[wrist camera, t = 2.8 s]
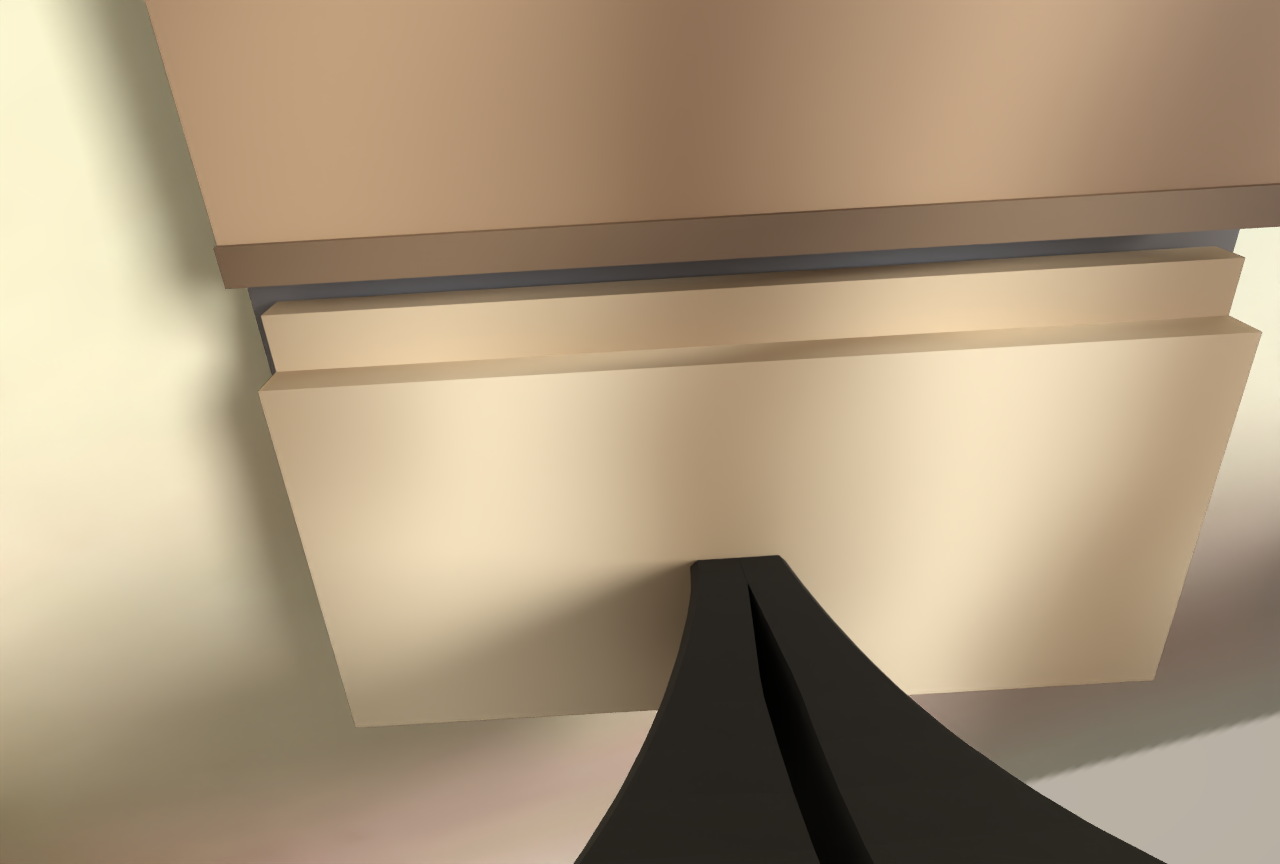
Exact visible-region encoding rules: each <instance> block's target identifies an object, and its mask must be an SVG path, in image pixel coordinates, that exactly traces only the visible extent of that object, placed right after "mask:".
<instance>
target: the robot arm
mask: <svg viewBox="0 0 1280 864" xmlns="http://www.w3.org/2000/svg"><path fill="white" fill-rule="evenodd" d="M690 581H691V593H690V601H689V607H688V613H687V619H686V623H685V627H684V631H683V635H682V639H681V643H680V647H679V651H678V655H677V658H676V661H675V664H674V667H673V670H672V673H671V676H670V679H669V682H668V685H667V688H666V691H665V694H664V696H663V699H662V702H661V704H660V707H659V709H658V712H657V714H656V717H655V719H654V721H653V724H652V726H651V728H650V731H649V733H648V735H647V737H646V740H645V742H644V744H643V746H642V748H641V750H640V752H639V754H638V756H637V758H636V760H635V762H634V764H633V766H632V768H631V770H630V772H629V774H628V776H627V778H626V780H625V782H624V783H623V785H622V787H621V789H620V791H619V792H618V794H617V796H616V798H615V799H614V801H613V803H612V805H611V806H610V808H609V809H608V811H607V813H606V814H605V816H604V817H603V819H602V820H601V822H600V824H599V825H598V827H597V828H596V830H595V832H594V833H593V835H592V836H591V838H590V840H589V841H588V843H587V844H586V846H585V848H584V849H583V851H582V852H581V854H580V855H579V857H578V858H577V859H576V861H575V862H574V864H1167V863H1165V862H1163V861H1161V860H1159V859H1157V858H1155V857H1153V856H1151V855H1149V854H1147V853H1145V852H1144V851H1142V850H1139V849H1138V848H1136V847H1134V846H1132V845H1130V844H1128V843H1126V842H1124V841H1122V840H1121V839H1118V838H1117V837H1115V836H1113V835H1111V834H1109V833H1107V832H1105V831H1103V830H1101V829H1099V828H1098V827H1096V826H1094V825H1092V824H1090V823H1089V822H1087V821H1085V820H1083V819H1082V818H1080V817H1078V816H1077V815H1075V814H1073V813H1072V812H1070V811H1068V810H1067V809H1065V808H1063V807H1061V806H1060V805H1058V804H1057V803H1055V802H1053V801H1052V800H1050V799H1048V798H1047V797H1045V796H1043V795H1041V794H1040V793H1039V792H1037V791H1035V790H1034V789H1032V788H1031V787H1029V786H1028V785H1026V784H1025V783H1023V782H1021V781H1020V780H1018V779H1017V778H1015V777H1014V776H1012V775H1011V774H1010V773H1008V772H1007V771H1005V770H1004V769H1002V768H1001V767H999V766H998V765H997V764H995V763H994V762H992V761H991V760H989V759H988V758H987V757H985V756H984V755H982V754H981V753H979V752H978V751H976V750H975V749H974V748H972V747H971V746H969V745H968V744H966V743H965V742H964V741H962V740H961V739H960V738H959V737H957V736H956V735H955V734H953V733H952V732H951V731H949V730H948V729H947V728H946V727H944V726H943V725H942V724H941V723H940V722H938V721H937V720H936V719H935V718H934V717H932V716H931V715H930V714H929V713H928V712H926V711H925V710H924V709H923V708H922V707H920V706H919V705H918V704H917V703H916V702H915V701H914V700H912V699H911V698H910V697H909V696H908V695H907V694H906V693H905V692H903V691H902V690H901V689H900V688H899V687H898V686H897V685H896V684H895V683H894V682H893V681H892V680H891V679H890V678H889V677H887V676H886V675H885V674H884V673H883V672H882V671H881V670H880V669H879V668H878V667H877V666H876V665H875V664H874V663H873V662H872V661H871V660H870V659H869V658H868V657H867V656H866V655H865V654H864V653H863V652H862V651H861V650H860V649H859V648H858V647H857V646H856V644H855V643H854V642H853V641H852V640H851V639H850V638H849V637H848V636H847V635H846V633H845V632H844V631H843V630H842V629H841V628H840V627H839V626H838V625H837V624H836V623H835V621H834V620H833V619H832V618H831V617H830V616H829V615H828V613H827V612H826V611H825V610H824V609H823V608H822V606H821V605H820V604H819V603H818V602H817V600H816V599H815V598H814V597H813V596H812V594H811V593H810V592H809V591H808V589H807V588H806V587H805V586H804V584H803V583H802V582H801V581H800V579H799V578H798V577H797V575H796V574H795V573H794V571H793V570H792V569H791V567H790V566H789V565H788V563H787V562H786V561H785V560H784V559H783V558H782V557H781V556H780V555H769V556H755V557H740V558H724V559H708V560H697V561H696V562H695V563H694V564H693V565H691V566H690Z"/></svg>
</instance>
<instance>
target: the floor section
mask: <svg viewBox="0 0 1280 864" xmlns="http://www.w3.org/2000/svg"><path fill="white" fill-rule="evenodd" d="M145 3H146V6H147V10H148V13H149V17H150V20H151V23H152V27H153V30H154V34H155V37H156V40H157V44H158V47H159V50H160V54H161V57H162V61H163V64H164V67H165V71H166V74H167V78H168V81H169V84H170V88H171V91H172V95H173V98H174V101H175V105H176V108H177V112H178V115H179V118H180V122H181V125H182V128H183V132H184V135H185V139H186V142H187V145H188V149H189V152H190V156H191V159H192V162H193V166H194V169H195V173H196V176H197V179H198V183H199V186H200V190H201V193H202V196H203V200H204V203H205V207H206V210H207V213H208V217H209V220H210V223H211V227H212V230H213V234H214V237H215V240H216V244H217V246H216V247H214V252H215V255H216V258H217V262H218V265H219V268H220V272H221V275H222V278H223V282H224V285H225V289H230V288H248V292H249V295H250V299H251V302H252V306H253V309H254V313H255V316H256V320H257V323H258V327H259V330H260V334H261V337H262V341H263V344H264V348H265V351H266V355H267V358H268V362H269V366H270V369H271V373H272V376H273V375H274V374H275V373H276V369H275V365H274V362H273V358H272V354H271V351H270V347H269V344H268V340H267V336H266V333H265V329H264V326H263V322H262V318H261V315H262V314H264V313H265V312H266V311H267V310H268V309H269V308H271V307H272V306H273V305H274V304H275V303H276V302H279V301H296V300H313V299H329V298H346V297H363V296H380V295H397V294H414V293H431V292H448V291H465V290H482V289H499V288H516V287H532V286H549V285H566V284H583V283H600V282H617V281H634V280H651V279H668V278H685V277H702V276H719V275H735V274H752V273H769V272H786V271H803V270H820V269H837V268H854V267H871V266H888V265H905V264H922V263H938V262H955V261H972V260H989V259H1006V258H1023V257H1040V256H1057V255H1074V254H1091V253H1108V252H1125V251H1142V250H1158V249H1175V248H1192V247H1209V246H1217V247H1219V248H1222V249H1224V250H1227V251H1229V252H1232V253H1233V251H1234V247H1235V244H1236V240H1237V237H1238V233H1239V230H1240V229H1246V228H1263V227H1279V226H1280V0H145Z"/></svg>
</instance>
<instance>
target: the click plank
mask: <svg viewBox="0 0 1280 864" xmlns="http://www.w3.org/2000/svg"><path fill="white" fill-rule="evenodd" d="M1244 260H1245V257H1242V256H1240V255H1237V254H1235V253H1232V252H1229V251H1227V250H1224V249H1222V248H1219V247H1217V246H1209V247H1192V248H1175V249H1158V250H1142V251H1125V252H1108V253H1091V254H1074V255H1057V256H1040V257H1023V258H1006V259H989V260H972V261H955V262H938V263H922V264H905V265H888V266H871V267H854V268H837V269H820V270H803V271H786V272H769V273H752V274H735V275H719V276H702V277H685V278H668V279H651V280H634V281H617V282H600V283H583V284H566V285H549V286H532V287H516V288H499V289H482V290H465V291H448V292H431V293H414V294H397V295H380V296H363V297H346V298H329V299H313V300H296V301H279V302H276V303H275V304H274V305H273V306H272V307H271V308H269V309H268V310H267V311H266V312H265V313H264V314H262V315H261V318H262V322H263V326H264V329H265V333H266V336H267V340H268V344H269V347H270V351H271V354H272V358H273V362H274V365H275V369H276V373H275V374H274V375H273V376H272V377H271V378H270V379H269V380H268V381H267V382H266V383H265V384H264V385H263V386H262V387H261V388H260V390H259V391H258V394H259V397H260V401H261V404H262V408H263V411H264V415H265V418H266V421H267V425H268V428H269V432H270V435H271V439H272V442H273V446H274V449H275V452H276V456H277V459H278V463H279V466H280V470H281V473H282V476H283V480H284V483H285V487H286V490H287V494H288V497H289V500H290V504H291V507H292V511H293V514H294V518H295V521H296V525H297V528H298V531H299V535H300V538H301V542H302V545H303V549H304V552H305V555H306V559H307V562H308V566H309V569H310V573H311V576H312V580H313V583H314V586H315V590H316V593H317V597H318V600H319V604H320V607H321V610H322V614H323V617H324V621H325V624H326V628H327V631H328V634H329V638H330V641H331V645H332V648H333V652H334V655H335V659H336V662H337V665H338V669H339V672H340V676H341V679H342V683H343V686H344V689H345V693H346V696H347V700H348V703H349V707H350V710H351V714H352V717H353V720H354V724H355V727H356V728H360V727H377V726H394V725H411V724H427V723H444V722H461V721H478V720H495V719H511V718H528V717H545V716H562V715H579V714H596V713H612V712H629V711H646V710H658V709H659V707H660V704H661V702H662V699H663V696H664V694H665V691H666V688H667V685H668V682H669V679H670V676H671V673H672V670H673V667H674V664H675V661H676V658H677V655H678V651H679V647H680V643H681V639H682V635H683V631H684V627H685V623H686V619H687V613H688V607H689V601H690V593H691V581H690V566H691V565H693V564H694V563H695V562H696V561H697V560H708V559H724V558H740V557H755V556H769V555H780V556H781V557H782V558H783V559H784V560H785V561H786V562H787V563H788V565H789V566H790V567H791V569H792V570H793V571H794V573H795V574H796V575H797V577H798V578H799V579H800V581H801V582H802V583H803V584H804V586H805V587H806V588H807V589H808V591H809V592H810V593H811V594H812V596H813V597H814V598H815V599H816V600H817V602H818V603H819V604H820V605H821V606H822V608H823V609H824V610H825V611H826V612H827V613H828V615H829V616H830V617H831V618H832V619H833V620H834V621H835V623H836V624H837V625H838V626H839V627H840V628H841V629H842V630H843V631H844V632H845V633H846V635H847V636H848V637H849V638H850V639H851V640H852V641H853V642H854V643H855V644H856V646H857V647H858V648H859V649H860V650H861V651H862V652H863V653H864V654H865V655H866V656H867V657H868V658H869V659H870V660H871V661H872V662H873V663H874V664H875V665H876V666H877V667H878V668H879V669H880V670H881V671H882V672H883V673H884V674H885V675H886V676H887V677H889V678H890V679H891V680H892V681H893V682H894V683H895V684H896V685H897V686H898V687H899V688H900V689H901V690H902V691H903V692H905V693H906V694H907V695H915V694H932V693H949V692H966V691H983V690H999V689H1016V688H1033V687H1050V686H1067V685H1084V684H1100V683H1117V682H1134V681H1151V680H1154V678H1155V674H1156V671H1157V668H1158V665H1159V662H1160V658H1161V655H1162V652H1163V649H1164V646H1165V642H1166V639H1167V636H1168V633H1169V630H1170V626H1171V623H1172V620H1173V617H1174V613H1175V610H1176V607H1177V604H1178V601H1179V597H1180V594H1181V591H1182V588H1183V585H1184V581H1185V578H1186V575H1187V572H1188V569H1189V565H1190V562H1191V559H1192V556H1193V552H1194V549H1195V546H1196V543H1197V540H1198V536H1199V533H1200V530H1201V527H1202V524H1203V520H1204V517H1205V514H1206V511H1207V508H1208V504H1209V501H1210V498H1211V495H1212V491H1213V488H1214V485H1215V482H1216V479H1217V475H1218V472H1219V469H1220V466H1221V463H1222V459H1223V456H1224V453H1225V450H1226V447H1227V443H1228V440H1229V437H1230V434H1231V430H1232V427H1233V424H1234V421H1235V418H1236V414H1237V411H1238V408H1239V405H1240V402H1241V398H1242V395H1243V392H1244V389H1245V386H1246V382H1247V379H1248V376H1249V373H1250V369H1251V366H1252V363H1253V360H1254V357H1255V353H1256V350H1257V347H1258V344H1259V341H1260V337H1261V334H1262V332H1261V331H1259V330H1257V329H1255V328H1253V327H1251V326H1249V325H1247V324H1245V323H1243V322H1241V321H1239V320H1237V319H1235V318H1233V317H1231V316H1229V312H1230V309H1231V305H1232V302H1233V298H1234V295H1235V292H1236V288H1237V285H1238V281H1239V278H1240V274H1241V271H1242V267H1243V264H1244Z"/></svg>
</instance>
